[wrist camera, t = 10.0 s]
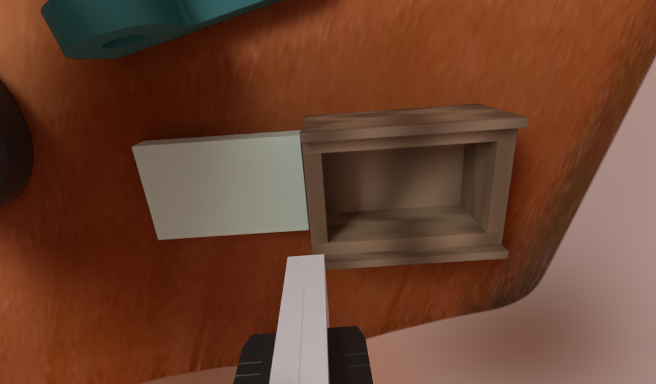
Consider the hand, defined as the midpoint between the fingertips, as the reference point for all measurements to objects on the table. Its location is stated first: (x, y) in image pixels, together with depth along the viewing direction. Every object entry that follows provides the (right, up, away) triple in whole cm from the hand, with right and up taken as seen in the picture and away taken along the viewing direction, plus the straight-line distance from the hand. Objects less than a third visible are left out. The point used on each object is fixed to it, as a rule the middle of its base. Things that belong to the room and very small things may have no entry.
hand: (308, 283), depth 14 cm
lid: (-8, +5, +15) cm, 18 cm away
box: (+6, +6, +15) cm, 17 cm away
